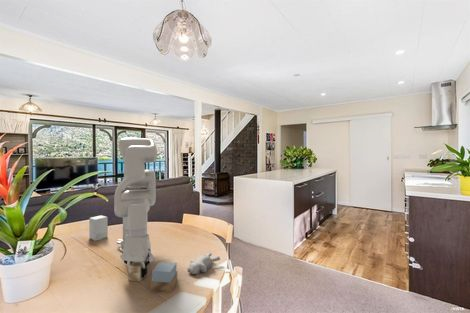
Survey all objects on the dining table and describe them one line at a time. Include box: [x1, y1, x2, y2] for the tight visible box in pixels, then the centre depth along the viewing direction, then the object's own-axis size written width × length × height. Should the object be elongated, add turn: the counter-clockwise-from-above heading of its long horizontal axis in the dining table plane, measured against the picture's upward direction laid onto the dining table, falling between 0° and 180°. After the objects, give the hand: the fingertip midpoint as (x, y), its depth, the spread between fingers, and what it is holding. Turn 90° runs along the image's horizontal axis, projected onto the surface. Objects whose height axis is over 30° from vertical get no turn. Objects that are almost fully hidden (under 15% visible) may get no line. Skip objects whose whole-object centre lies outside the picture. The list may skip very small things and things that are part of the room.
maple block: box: [127, 262, 147, 282], centre depth 94 cm, size 5×5×6 cm
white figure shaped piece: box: [187, 252, 221, 276], centre depth 102 cm, size 10×5×15 cm
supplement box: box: [89, 214, 109, 242], centre depth 138 cm, size 7×7×13 cm
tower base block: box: [150, 270, 178, 293], centre depth 88 cm, size 8×8×4 cm
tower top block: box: [151, 261, 177, 282], centre depth 88 cm, size 7×7×4 cm
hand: (137, 275), depth 94 cm, fingers closed on maple block, 5 cm apart
